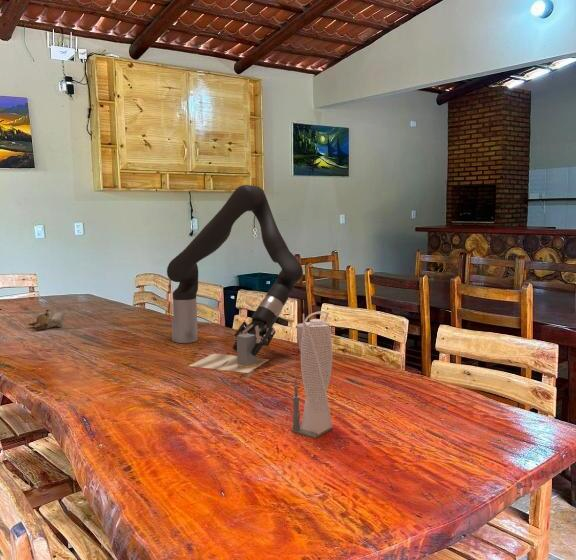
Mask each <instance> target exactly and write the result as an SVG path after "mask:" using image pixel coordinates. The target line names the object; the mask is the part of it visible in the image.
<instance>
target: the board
mask: <svg viewBox="0 0 576 560" xmlns="http://www.w3.org/2000/svg"><path fill="white" fill-rule="evenodd" d="M268 361H270V359H266V358H259V357H257V365H256V366H252V367H249V368H244V367H241V366H237V355H229V354H222V353H221V354H219V353H211V354H209V355H207V356H205V357H203V358H201V359H199V360H197V361H195V362H193V363H191V364H189V365H188V367H195V368H203V369H210V370H211V369H212V370H219V371H228V372H235V373H236V372H237V373H245V374H242V375H239V377H242V378H247V379H248V378H250V377H252V376H253V375H255V374H256V373H258V372H259V371H260V369H258V370H255V369H257V368H259V367H260V366H262V365H263V364H265V363H267V362H268ZM254 370H255V371H254Z"/></svg>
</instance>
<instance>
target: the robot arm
mask: <svg viewBox="0 0 576 560" xmlns="http://www.w3.org/2000/svg"><path fill="white" fill-rule="evenodd" d="M266 195H267V194H266V193H265V191H264V190H263V189H262V188H261V187H260V186H258V185H252V184H242V185H240V186H238V187H237V188H236V189H235V190H233V193H231V195H230V197H229V198H228V199H227V200H226V202H225V203H224V204H223V206H222V208H221V209H220V210H219V211H218V212H217V213H216V214H215V215H214V216H213V218H211V220H210V221H208V223H206V225H204V227H203V228H202V229H201V230H200V231H199V233H198V234H197V235H196V236H195V237H194V238H193V239H192V240H191V242H189V244H188V245H187V246H186V247H185V248H184V249H183V250H182V251H181V252H180V253H179V254H177V255H176V256H175V257H174V258H172V260H170V262H169V263H168V265H167V268H166V276H167V277H168V279H169V280H171V281H172V282H175V283H179V284H178V286H177V288H176V289H174V290H173V292H172V307H173V308H172V313H173V316H172V317H171V339H172V340H171V341H172V342H175V343H179V344H190V343H191V344H192V343H194V342H197V341H199V339H198V337H199V334H198V332H199V331H198V306H197V294H198V290H199V267H198V264H197V263H199V262H200V261H202V260H203V259H205V258H207V257H208V256H210V255H211V254H213V253H215V252H216V251H217V250H218V249H220V248H221V246H222V245H223V244H224V243H225V242H226V241H227V240H228V238H229V236H230V234H231V232H232V229H233V225H234V224H235V223H236V221H237V220H238V219H239V218H241V216H243V215H244V214H245V213H246V212H252V214H253V215H254V216H255V218H256V219H257V221H258V224H259V227H260V233H261V239H262V244H263V245H264V248H265V250H266V252H267V254H268V255H269V257H270V259H271V261H272V262H274V263H277V264H278V265H279V267H280V269H281V270H280V271H279V274H278V275H277V277H276V279H275V281H274V283H273V284H272V286H271V287H270V289H269V290H268V292H267V293H266V295H265V296H264V298H263V299H262V300H261V302H260V303H259V305H258V306H257V308H256V309H255V311H254V313H253V315H252V316H251V321H250V323H247V322H245V321H243V322H242V323H241V324H240V326H239V327H238V329H237V330H236V332H235V333H234V337H235V338H236V340H235V342H234V344H232V350H233V351H235V352H236V353H237V335H241V334H245V333H249V334H253V335H256V341H257V343H256V344H255V345H254V347H253V349H252V350H251V352H250V353H251V354H252V355H253V356H256V355H257V356H258V354H259V352H260V351H261V349H262V348H263V347H264V346H265V347H269V346H270V343H271V342H272V339H273V338H274V337H275V334H276V331H275V329H274V328H273V327H274V325H275V323H276V322H277V319H278V318H279V317H280V315H281V313H282V311H283V308H284V307H285V305H286V303H287V301H288V300H289V297H290V295H291V292H292V291H293V289H294V288H295V286H296V285H297V283H299V281H300V280H301V279H302V278H303V275H304V270H303V266H302V264H301V263H300V261H299V260H298V259H297V258H296V256H295V255H294V254H293V253H292V252H291V250H290V249H289V247H288V245H287V243H286V242H285V240H284V238H283V236H282V234H281V232H280V230H279V228H278V226H277V223H276V220H275V218H274V215H273V213H272V212H273V211H272V210H271V207H270V205H269V201H268V198H267V196H266Z"/></svg>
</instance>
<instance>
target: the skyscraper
mask: <svg viewBox="0 0 576 560" xmlns="http://www.w3.org/2000/svg"><path fill="white" fill-rule="evenodd" d="M318 314H326V315H325V317H324V320H323V319H319V318H313V319H310V321H308V319H309V318H311V317H312V316H314V315H315V316H316V315H318ZM329 315H330V314H329V312H328V311H327V310H319V311H316V312H315V311H314V312H312V313H310V314H308V315H307V316H306V317H305V318H304V324H303V332H302V341H301V352H300V371H301V378H302V383H303V389H304V394H305V401H304V405H303V407H304V408H303V413H302V414H303V415H302V420H301V414H300V408H299V407H300V396H299V395H298V394H299V393H298V391H299V390H298V388H299V386H298V385H297V384H298V383H297V382H298V381H297V378H294V382H295V383H294V384H295V385H293V386H294V387H293V388H294V396H292V404H293V405H292V406H293V410H292V411H293V412H292V422H293V423H292V428H291V429H290V431H291V432H293V433H296V434H299V435H302V436H305V437H308V438H310V439H317V438H319V437H320V436H322V435H324V434H325V433H328V432H329V431H331V430H332V429H333V423H332V416H331V412H330V411H331V410H330V405H329V399H328V395H327V391H328V389H329V384H330V380H331V376H332V375H331V374H332V368H333V342H332V334H331V324H330V323H329V322H327V319H328V317H329ZM303 341H304V342H303ZM300 421H301V424H300Z"/></svg>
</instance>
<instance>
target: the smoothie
mask: <svg viewBox="0 0 576 560" xmlns="http://www.w3.org/2000/svg"><path fill="white" fill-rule="evenodd" d="M304 321H305V313H303V314H302V323H297V324H295V329H296V335H297V341H298V351H299V352H300V353H301V341H302V332H303V324H304ZM303 342H304V341H303Z"/></svg>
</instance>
